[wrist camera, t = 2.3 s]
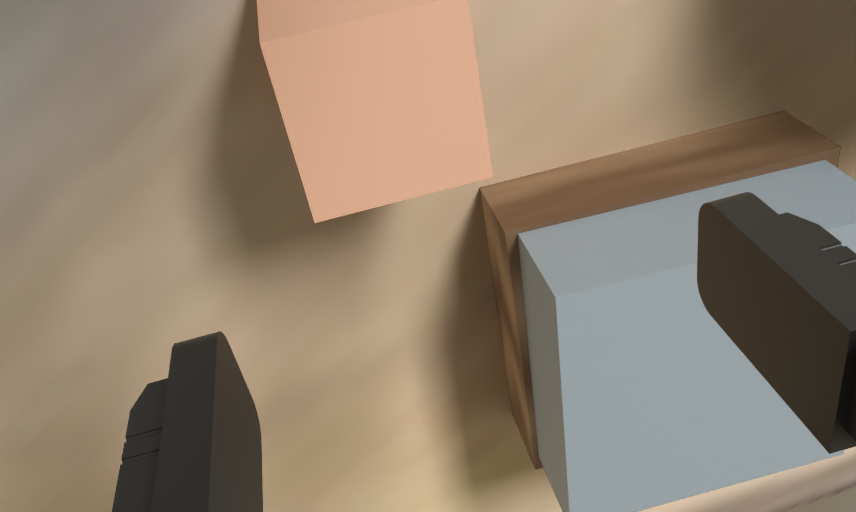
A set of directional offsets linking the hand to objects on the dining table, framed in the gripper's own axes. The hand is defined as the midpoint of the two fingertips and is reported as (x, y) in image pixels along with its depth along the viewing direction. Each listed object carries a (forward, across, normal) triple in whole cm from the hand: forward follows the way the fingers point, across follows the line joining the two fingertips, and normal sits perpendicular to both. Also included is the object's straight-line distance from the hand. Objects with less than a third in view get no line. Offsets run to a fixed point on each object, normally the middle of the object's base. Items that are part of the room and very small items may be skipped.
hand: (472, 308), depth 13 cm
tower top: (+13, -10, +14) cm, 21 cm away
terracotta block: (+16, 0, 0) cm, 16 cm away
